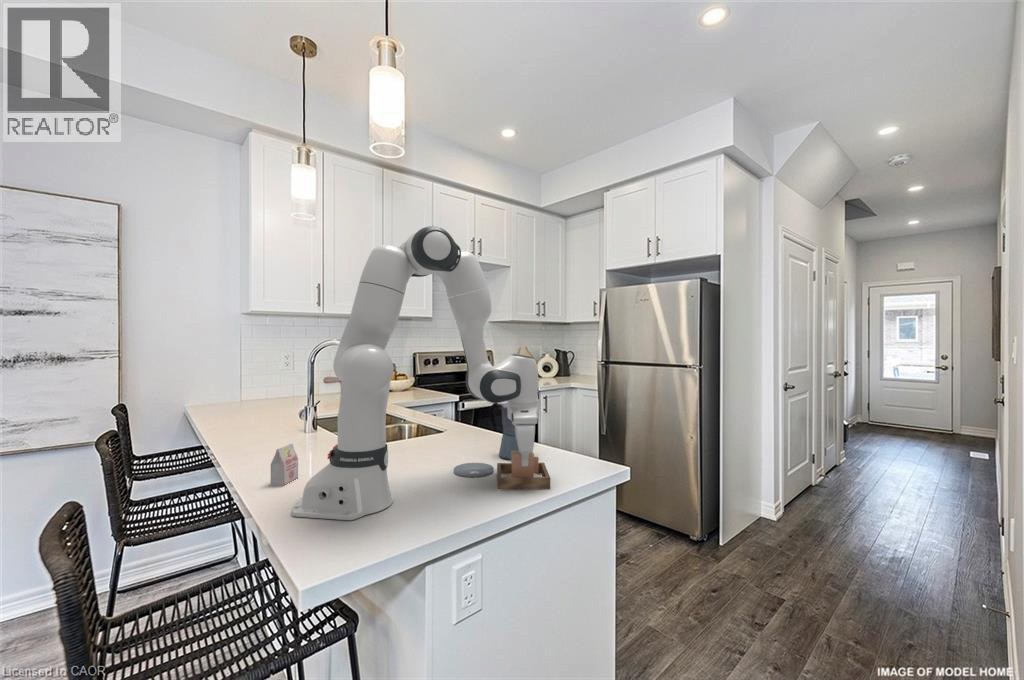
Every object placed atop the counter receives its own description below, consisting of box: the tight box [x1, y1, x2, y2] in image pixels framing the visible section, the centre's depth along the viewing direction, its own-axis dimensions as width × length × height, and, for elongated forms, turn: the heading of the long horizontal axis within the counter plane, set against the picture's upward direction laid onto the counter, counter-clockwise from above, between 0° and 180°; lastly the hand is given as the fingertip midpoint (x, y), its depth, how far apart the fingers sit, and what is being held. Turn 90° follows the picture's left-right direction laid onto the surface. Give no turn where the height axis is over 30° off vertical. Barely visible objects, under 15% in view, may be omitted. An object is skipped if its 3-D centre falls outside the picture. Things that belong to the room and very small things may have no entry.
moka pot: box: [488, 403, 519, 461], centre depth 150 cm, size 10×15×20 cm, turn 89°
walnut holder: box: [496, 462, 551, 490], centre depth 126 cm, size 14×14×3 cm
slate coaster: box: [453, 462, 495, 479], centre depth 134 cm, size 12×12×1 cm
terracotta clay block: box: [510, 451, 539, 477], centre depth 126 cm, size 8×4×8 cm, turn 93°
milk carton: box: [270, 443, 299, 487], centre depth 124 cm, size 4×7×10 cm, turn 173°
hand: (523, 460), depth 126 cm, fingers open, 8 cm apart
